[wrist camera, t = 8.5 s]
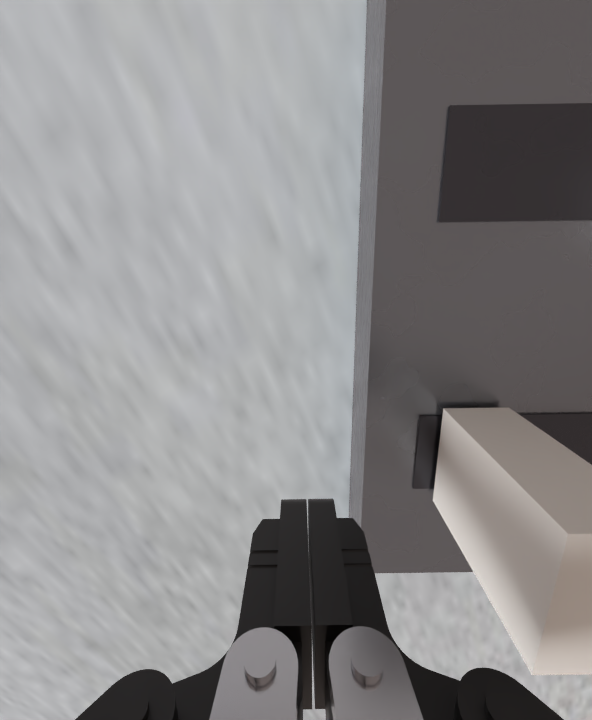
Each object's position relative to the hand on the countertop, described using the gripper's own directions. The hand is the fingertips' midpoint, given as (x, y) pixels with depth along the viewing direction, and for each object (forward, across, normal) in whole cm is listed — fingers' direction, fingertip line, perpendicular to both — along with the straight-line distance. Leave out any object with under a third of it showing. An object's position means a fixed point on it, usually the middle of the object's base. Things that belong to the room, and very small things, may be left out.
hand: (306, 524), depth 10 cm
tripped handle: (+3, -6, 0) cm, 7 cm away
